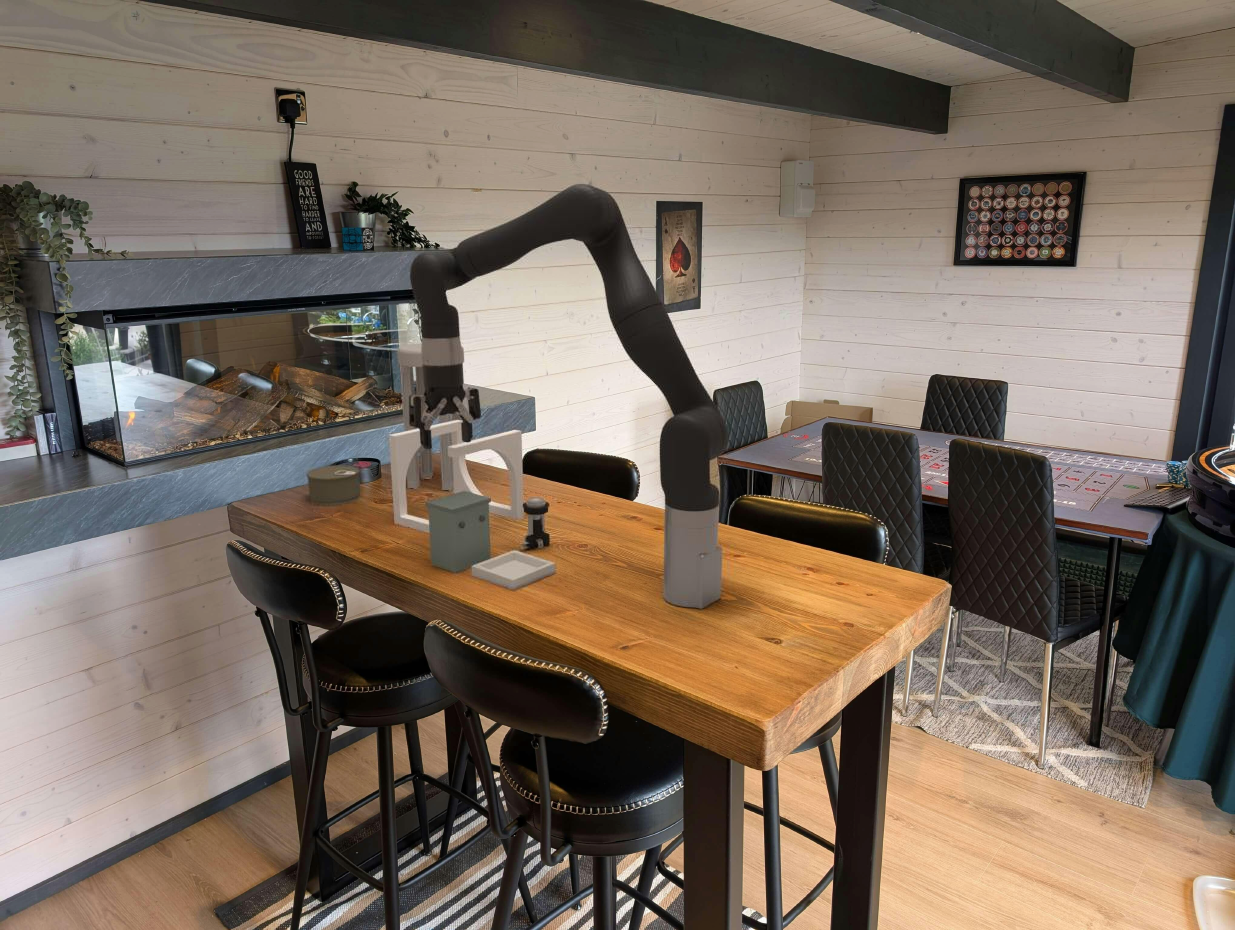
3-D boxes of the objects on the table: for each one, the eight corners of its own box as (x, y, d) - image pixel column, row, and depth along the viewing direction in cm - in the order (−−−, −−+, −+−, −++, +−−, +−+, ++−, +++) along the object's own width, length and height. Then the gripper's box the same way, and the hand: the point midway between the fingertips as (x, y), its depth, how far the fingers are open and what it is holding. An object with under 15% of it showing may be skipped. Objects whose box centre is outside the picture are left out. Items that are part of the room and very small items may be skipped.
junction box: (493, 559, 172) (490, 498, 169) (455, 573, 165) (452, 509, 162) (466, 551, 177) (464, 490, 174) (429, 564, 170) (425, 501, 166)
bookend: (523, 517, 198) (521, 430, 193) (458, 542, 182) (454, 448, 177) (460, 502, 209) (457, 419, 204) (394, 523, 194) (388, 435, 189)
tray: (555, 573, 165) (555, 563, 165) (513, 590, 157) (513, 580, 157) (514, 559, 172) (514, 550, 172) (471, 575, 164) (471, 565, 163)
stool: (396, 490, 218) (387, 349, 209) (420, 474, 233) (412, 342, 224) (456, 494, 216) (449, 351, 207) (476, 477, 230) (471, 343, 222)
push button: (527, 554, 175) (526, 506, 172) (513, 547, 179) (511, 500, 176) (555, 547, 179) (554, 500, 177) (540, 540, 183) (539, 494, 181)
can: (325, 490, 218) (323, 464, 217) (370, 493, 216) (368, 466, 214) (299, 504, 207) (296, 476, 205) (346, 508, 205) (344, 479, 203)
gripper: (418, 366, 159) (424, 454, 162) (485, 359, 168) (489, 442, 171) (398, 362, 164) (404, 447, 168) (464, 356, 173) (469, 436, 177)
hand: (447, 445), depth 170 cm, fingers open, 8 cm apart
